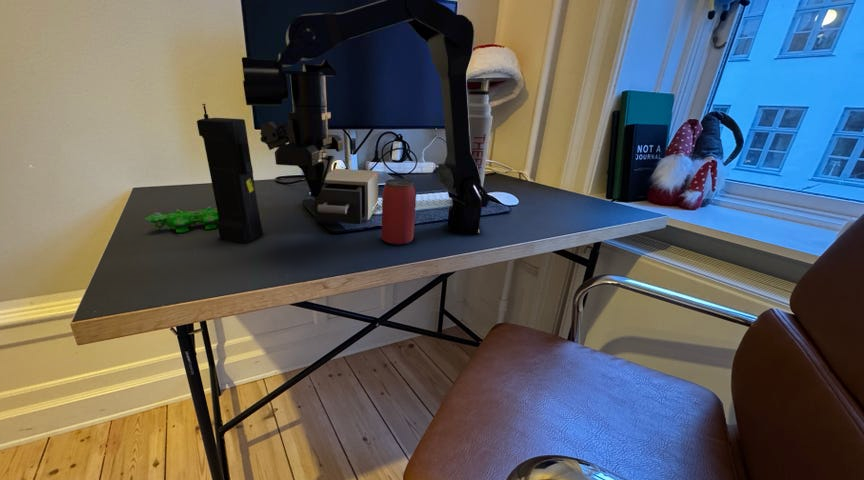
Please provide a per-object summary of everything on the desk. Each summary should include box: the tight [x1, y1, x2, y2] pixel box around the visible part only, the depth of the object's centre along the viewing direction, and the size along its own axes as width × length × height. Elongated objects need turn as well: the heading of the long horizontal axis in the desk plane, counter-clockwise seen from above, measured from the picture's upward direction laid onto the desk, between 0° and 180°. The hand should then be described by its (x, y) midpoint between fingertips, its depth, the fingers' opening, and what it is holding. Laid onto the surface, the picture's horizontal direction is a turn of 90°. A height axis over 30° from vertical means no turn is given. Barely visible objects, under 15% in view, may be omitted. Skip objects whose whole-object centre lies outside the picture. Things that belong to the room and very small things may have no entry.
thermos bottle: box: [451, 89, 494, 201], centre depth 95 cm, size 8×8×28 cm
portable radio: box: [196, 103, 264, 244], centre depth 70 cm, size 8×6×25 cm
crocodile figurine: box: [144, 205, 219, 234], centre depth 79 cm, size 7×18×4 cm, turn 115°
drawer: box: [313, 183, 365, 225], centre depth 84 cm, size 16×10×7 cm, turn 170°
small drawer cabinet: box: [323, 168, 379, 222], centre depth 91 cm, size 13×12×9 cm
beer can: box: [381, 178, 417, 246], centre depth 73 cm, size 7×7×12 cm
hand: (315, 196), depth 69 cm, fingers closed
